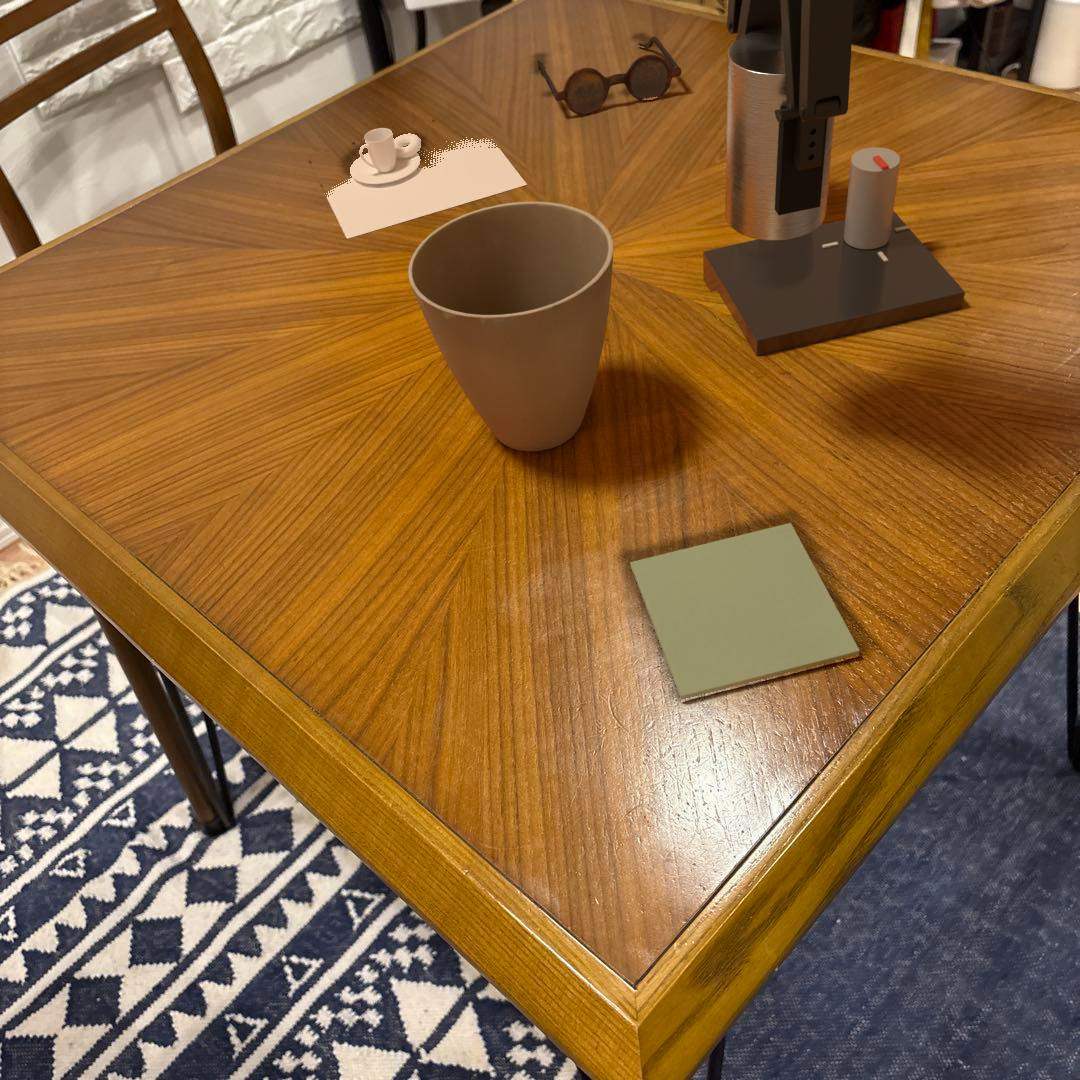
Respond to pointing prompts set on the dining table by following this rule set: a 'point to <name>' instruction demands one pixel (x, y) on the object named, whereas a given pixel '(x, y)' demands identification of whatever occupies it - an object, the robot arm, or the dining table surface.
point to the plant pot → (519, 313)
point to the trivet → (741, 611)
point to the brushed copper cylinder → (761, 141)
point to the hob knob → (871, 197)
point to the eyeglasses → (616, 81)
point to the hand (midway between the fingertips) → (777, 179)
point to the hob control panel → (827, 286)
